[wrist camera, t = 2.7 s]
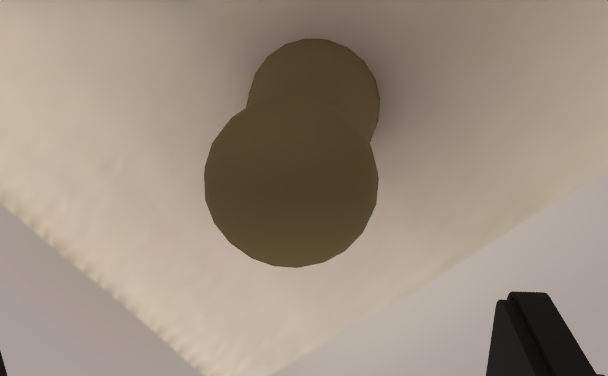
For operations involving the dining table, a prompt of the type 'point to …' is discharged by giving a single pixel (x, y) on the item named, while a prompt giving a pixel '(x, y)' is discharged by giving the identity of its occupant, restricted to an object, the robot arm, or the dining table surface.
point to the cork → (298, 157)
